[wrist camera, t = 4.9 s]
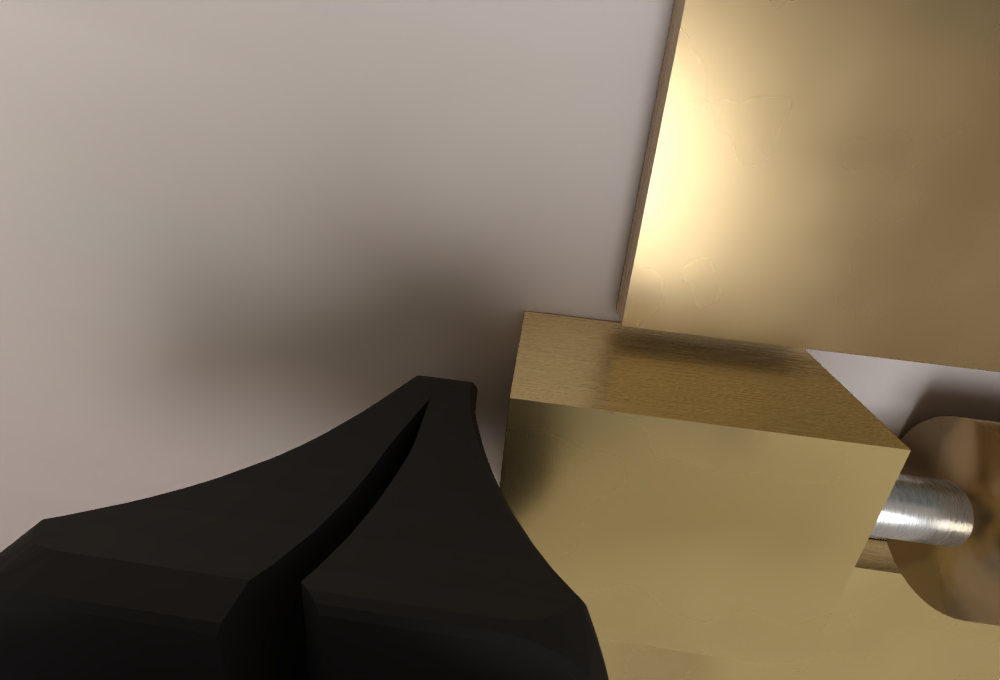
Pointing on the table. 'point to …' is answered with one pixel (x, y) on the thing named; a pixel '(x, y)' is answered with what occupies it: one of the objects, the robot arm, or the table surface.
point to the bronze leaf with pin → (842, 226)
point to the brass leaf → (718, 510)
